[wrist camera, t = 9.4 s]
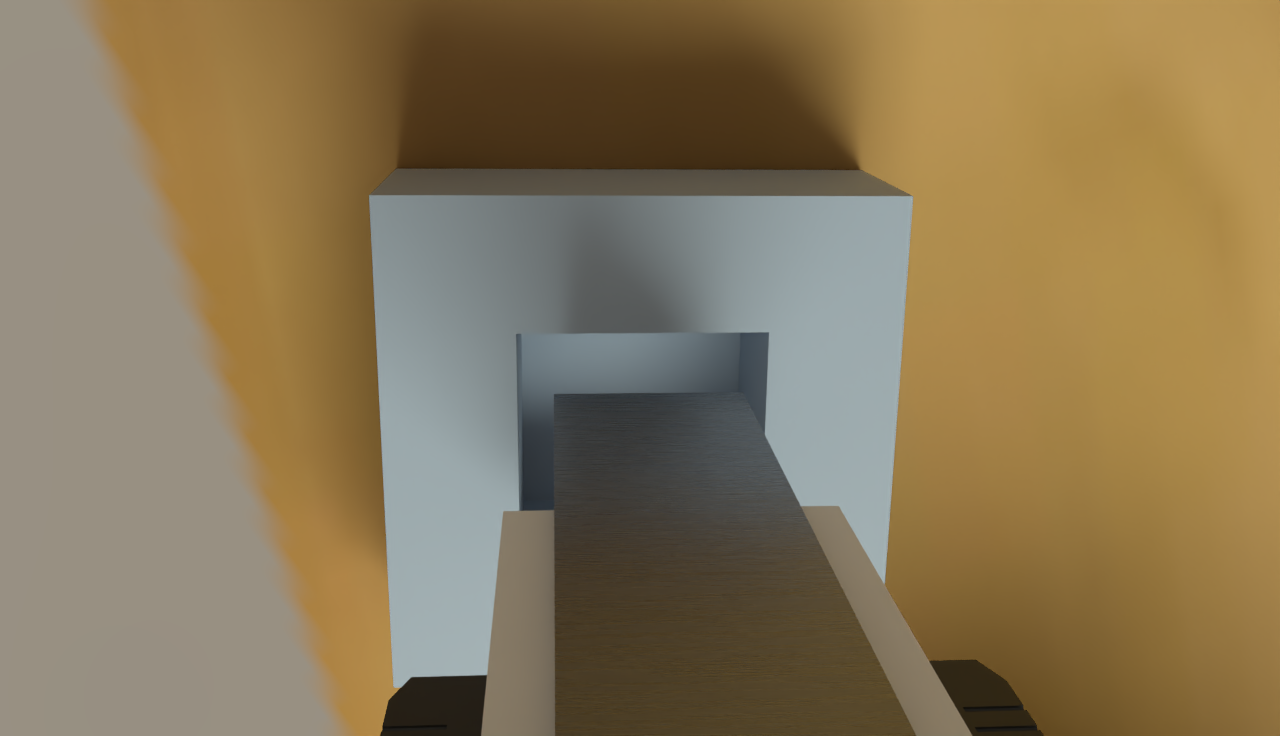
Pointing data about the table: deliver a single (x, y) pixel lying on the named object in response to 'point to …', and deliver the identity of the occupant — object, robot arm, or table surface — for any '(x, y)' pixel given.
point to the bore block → (616, 349)
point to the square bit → (696, 582)
